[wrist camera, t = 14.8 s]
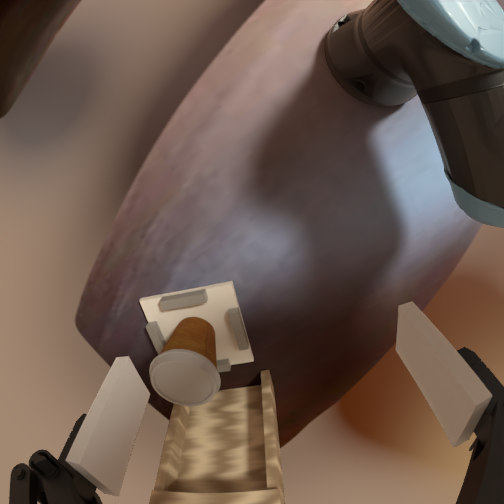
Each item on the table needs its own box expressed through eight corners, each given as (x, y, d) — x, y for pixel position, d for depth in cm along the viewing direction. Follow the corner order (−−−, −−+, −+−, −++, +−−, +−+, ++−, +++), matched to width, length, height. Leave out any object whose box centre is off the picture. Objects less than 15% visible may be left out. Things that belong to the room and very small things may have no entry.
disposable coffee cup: (182, 360, 47) (168, 412, 35) (157, 315, 44) (133, 364, 32) (234, 348, 46) (231, 402, 35) (212, 300, 43) (201, 350, 31)
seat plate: (232, 280, 43) (231, 288, 40) (253, 357, 48) (254, 367, 45) (141, 297, 44) (136, 305, 41) (172, 368, 49) (170, 377, 46)
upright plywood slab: (268, 367, 49) (282, 528, 20) (273, 387, 50) (287, 536, 22) (178, 379, 50) (145, 524, 21) (188, 398, 51) (163, 534, 23)
